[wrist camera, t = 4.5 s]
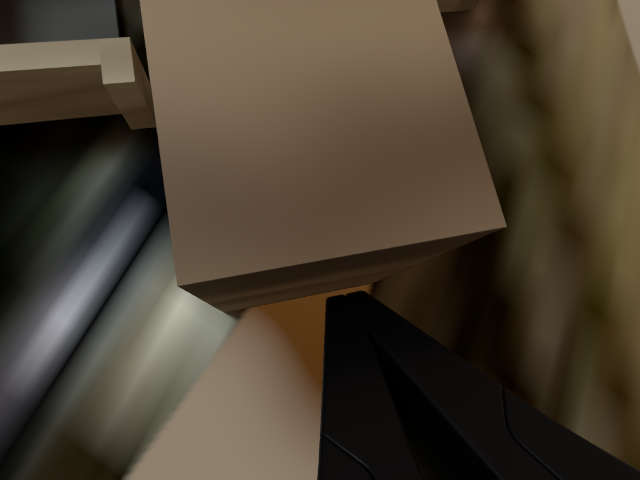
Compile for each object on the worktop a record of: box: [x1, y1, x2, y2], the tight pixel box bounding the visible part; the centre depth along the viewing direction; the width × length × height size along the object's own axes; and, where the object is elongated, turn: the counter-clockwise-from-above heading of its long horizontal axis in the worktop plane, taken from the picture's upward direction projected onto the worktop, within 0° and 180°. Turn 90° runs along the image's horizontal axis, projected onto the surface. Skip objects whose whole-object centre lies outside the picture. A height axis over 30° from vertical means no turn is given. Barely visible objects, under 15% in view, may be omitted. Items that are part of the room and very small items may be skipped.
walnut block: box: [140, 0, 507, 312], centre depth 13 cm, size 15×6×9 cm, turn 11°
